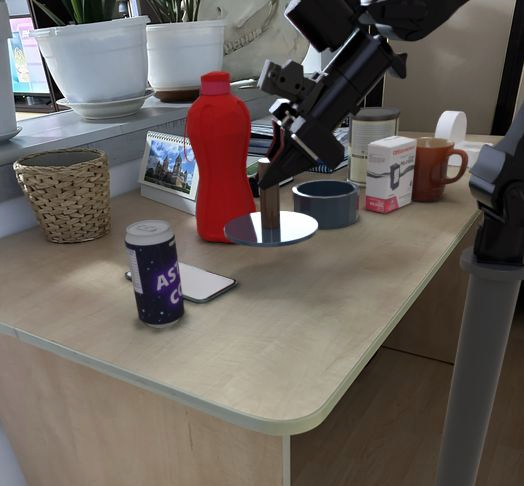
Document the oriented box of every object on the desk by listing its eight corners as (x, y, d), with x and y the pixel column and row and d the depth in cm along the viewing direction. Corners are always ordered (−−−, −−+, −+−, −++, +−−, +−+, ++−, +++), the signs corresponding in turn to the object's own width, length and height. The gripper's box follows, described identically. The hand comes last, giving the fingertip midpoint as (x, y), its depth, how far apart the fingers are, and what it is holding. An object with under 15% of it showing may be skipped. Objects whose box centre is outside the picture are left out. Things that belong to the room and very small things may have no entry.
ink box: (385, 214, 98) (390, 146, 92) (363, 209, 101) (367, 143, 95) (411, 203, 103) (418, 137, 97) (389, 198, 106) (394, 134, 100)
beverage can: (165, 335, 64) (149, 238, 58) (130, 324, 67) (111, 231, 61) (194, 315, 69) (183, 222, 62) (160, 305, 71) (146, 216, 65)
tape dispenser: (421, 151, 139) (425, 106, 133) (492, 159, 129) (500, 110, 123) (403, 159, 133) (408, 112, 127) (476, 168, 123) (485, 117, 117)
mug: (392, 199, 106) (396, 144, 100) (415, 188, 111) (420, 135, 106) (449, 210, 99) (457, 151, 93) (471, 198, 104) (480, 142, 99)
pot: (362, 210, 101) (364, 180, 98) (350, 231, 92) (352, 199, 89) (302, 206, 104) (302, 178, 102) (285, 226, 95) (284, 195, 92)
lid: (328, 222, 76) (329, 150, 71) (303, 255, 66) (302, 174, 61) (244, 216, 80) (239, 147, 75) (209, 247, 70) (201, 170, 65)
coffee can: (338, 178, 120) (340, 110, 113) (378, 172, 123) (383, 105, 116) (361, 190, 112) (364, 116, 105) (404, 183, 115) (410, 111, 108)
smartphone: (240, 284, 76) (161, 259, 84) (240, 280, 76) (160, 256, 84) (202, 305, 71) (121, 277, 79) (201, 302, 70) (120, 273, 79)
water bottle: (204, 224, 98) (188, 69, 85) (262, 228, 95) (254, 67, 82) (182, 242, 91) (161, 75, 78) (244, 247, 88) (233, 74, 74)
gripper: (282, 28, 69) (205, 127, 74) (317, 32, 53) (215, 158, 58) (341, 92, 74) (264, 181, 79) (388, 112, 58) (289, 222, 63)
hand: (258, 184), depth 69 cm, fingers closed on lid, 3 cm apart
